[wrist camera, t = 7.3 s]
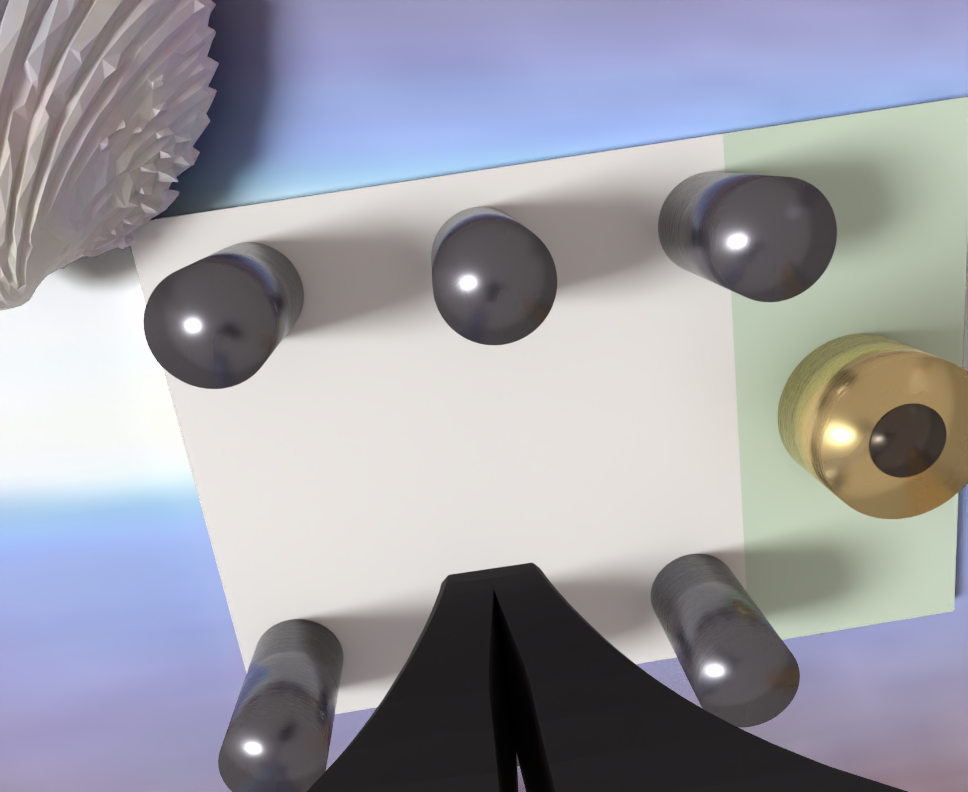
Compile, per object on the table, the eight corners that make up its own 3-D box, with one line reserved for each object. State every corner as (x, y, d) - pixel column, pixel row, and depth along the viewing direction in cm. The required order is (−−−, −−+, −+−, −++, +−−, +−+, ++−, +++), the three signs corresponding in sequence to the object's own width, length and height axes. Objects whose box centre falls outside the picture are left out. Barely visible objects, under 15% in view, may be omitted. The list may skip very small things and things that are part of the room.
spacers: (772, 616, 23) (842, 711, 19) (265, 700, 22) (232, 814, 18) (754, 164, 19) (836, 167, 15) (146, 257, 19) (74, 283, 15)
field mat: (941, 599, 24) (954, 611, 23) (265, 712, 23) (261, 726, 23) (956, 97, 19) (973, 95, 19) (133, 222, 19) (124, 224, 18)
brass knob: (919, 472, 22) (982, 513, 19) (774, 485, 21) (819, 527, 19) (933, 327, 20) (1002, 350, 18) (780, 339, 20) (829, 364, 18)
